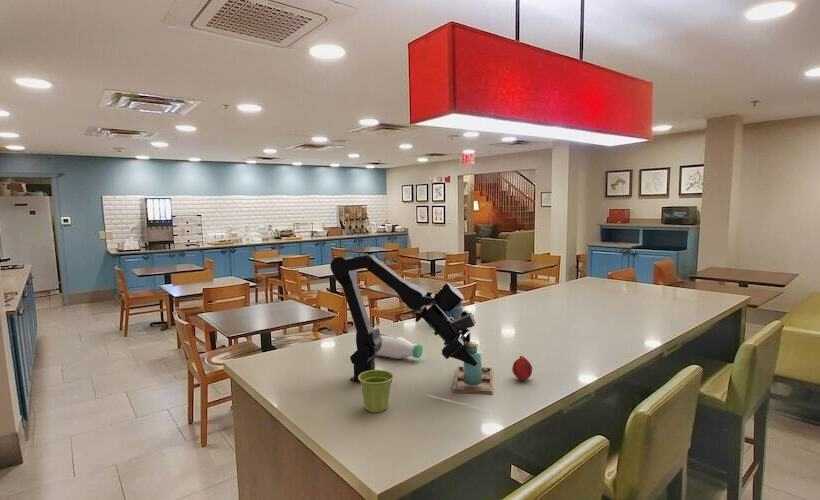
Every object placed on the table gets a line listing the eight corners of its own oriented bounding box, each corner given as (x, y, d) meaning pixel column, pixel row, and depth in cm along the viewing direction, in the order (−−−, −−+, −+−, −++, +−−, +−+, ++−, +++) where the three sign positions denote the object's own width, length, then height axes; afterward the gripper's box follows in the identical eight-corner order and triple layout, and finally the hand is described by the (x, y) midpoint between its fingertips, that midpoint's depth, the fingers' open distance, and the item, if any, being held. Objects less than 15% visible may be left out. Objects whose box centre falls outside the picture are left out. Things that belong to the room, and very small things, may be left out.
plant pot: (394, 399, 121) (393, 369, 121) (394, 415, 112) (393, 382, 111) (360, 400, 121) (359, 370, 120) (357, 416, 112) (356, 383, 111)
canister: (431, 322, 208) (430, 285, 207) (456, 319, 212) (456, 283, 211) (441, 328, 196) (441, 289, 195) (468, 326, 200) (467, 287, 198)
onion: (517, 376, 137) (517, 351, 137) (535, 380, 134) (535, 354, 133) (509, 381, 133) (509, 355, 132) (527, 386, 129) (527, 359, 128)
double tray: (492, 396, 123) (492, 390, 122) (453, 393, 125) (453, 388, 124) (492, 372, 141) (492, 366, 141) (457, 370, 143) (457, 365, 143)
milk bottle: (370, 358, 161) (418, 367, 152) (363, 343, 157) (412, 352, 148) (380, 342, 167) (427, 350, 157) (373, 328, 163) (421, 335, 153)
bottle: (473, 386, 125) (473, 346, 124) (459, 381, 128) (459, 343, 128) (485, 382, 128) (485, 343, 127) (471, 377, 132) (471, 339, 131)
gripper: (453, 310, 118) (494, 353, 116) (463, 298, 136) (499, 335, 134) (425, 337, 121) (465, 380, 119) (438, 321, 139) (473, 358, 137)
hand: (477, 361), depth 127 cm, fingers closed on bottle, 5 cm apart
